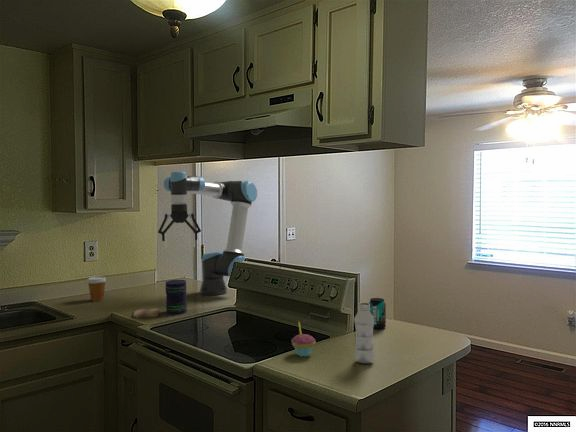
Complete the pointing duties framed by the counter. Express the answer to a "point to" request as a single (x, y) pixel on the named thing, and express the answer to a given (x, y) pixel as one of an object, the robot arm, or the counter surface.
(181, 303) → the storage jar
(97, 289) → the disposable coffee cup
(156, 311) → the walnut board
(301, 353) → the cupcake
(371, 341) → the plastic bottle
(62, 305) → the counter surface
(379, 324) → the beverage can
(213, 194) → the robot arm
